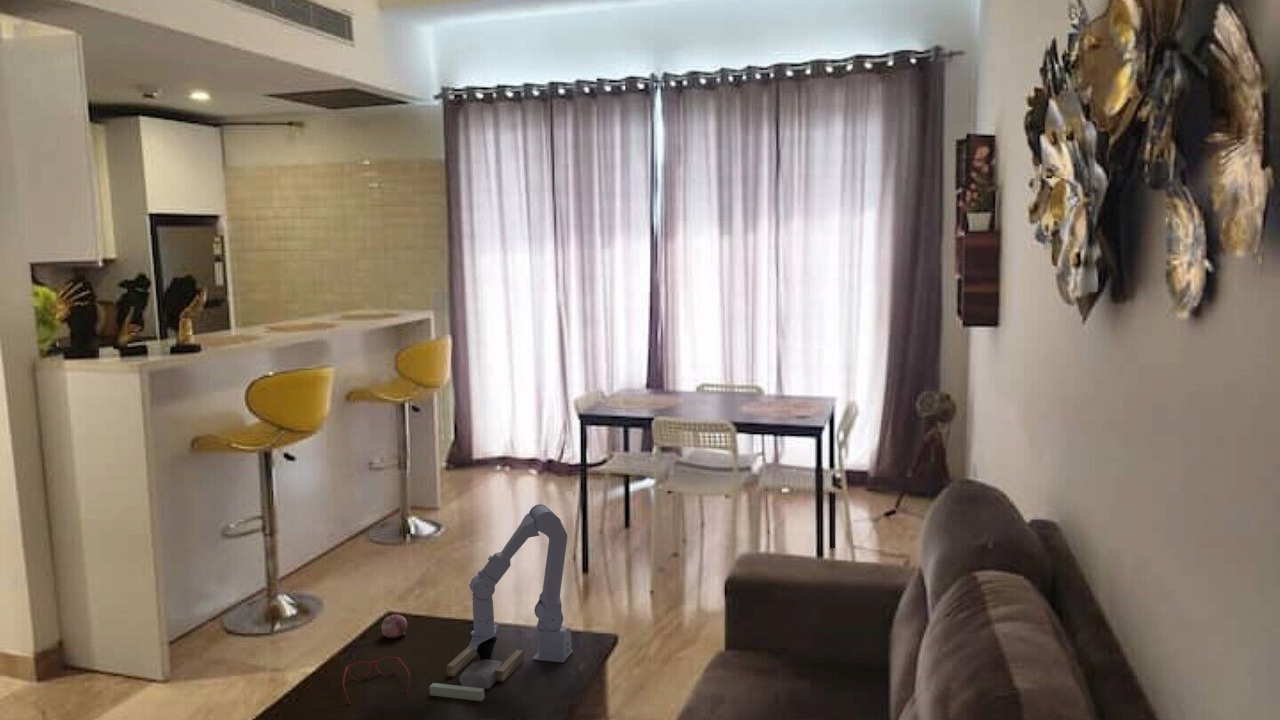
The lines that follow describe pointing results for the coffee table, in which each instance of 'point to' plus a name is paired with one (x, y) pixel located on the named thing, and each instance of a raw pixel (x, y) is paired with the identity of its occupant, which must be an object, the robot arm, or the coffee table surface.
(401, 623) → the onion
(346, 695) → the red eyeglasses
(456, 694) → the end bar
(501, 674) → the chute rail right
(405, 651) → the coffee table surface
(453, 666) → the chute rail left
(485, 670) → the stone block
